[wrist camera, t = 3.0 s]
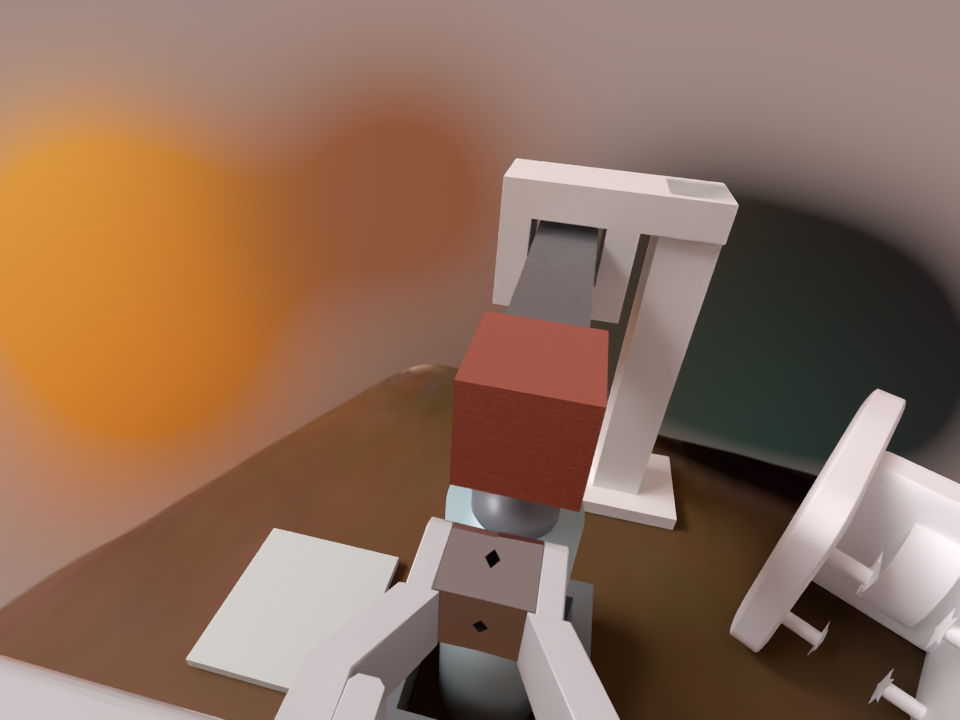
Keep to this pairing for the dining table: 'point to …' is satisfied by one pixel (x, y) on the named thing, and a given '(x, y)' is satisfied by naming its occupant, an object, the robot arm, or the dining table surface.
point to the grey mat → (289, 607)
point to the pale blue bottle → (481, 676)
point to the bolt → (535, 380)
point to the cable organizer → (873, 557)
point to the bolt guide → (656, 310)
